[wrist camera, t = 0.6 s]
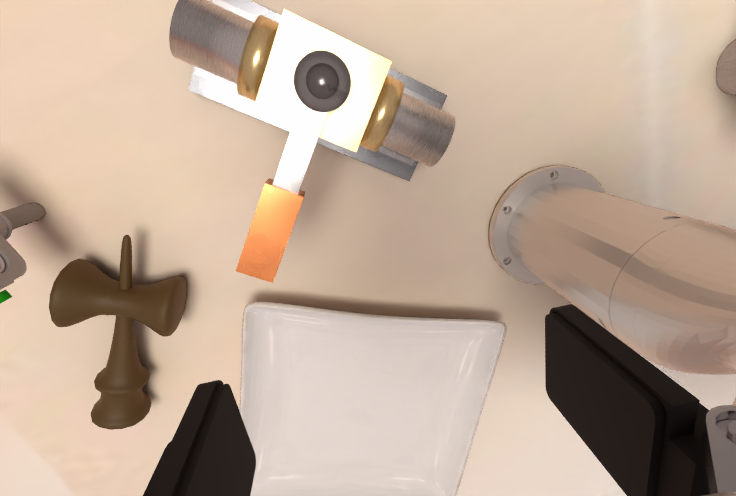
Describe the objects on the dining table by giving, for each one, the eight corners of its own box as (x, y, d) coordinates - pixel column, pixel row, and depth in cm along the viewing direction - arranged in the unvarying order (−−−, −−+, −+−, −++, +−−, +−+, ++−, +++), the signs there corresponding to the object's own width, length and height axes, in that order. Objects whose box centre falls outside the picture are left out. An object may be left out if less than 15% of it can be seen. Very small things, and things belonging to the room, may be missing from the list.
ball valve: (442, 96, 34) (494, 88, 24) (405, 178, 36) (439, 204, 26) (220, -11, 30) (164, -79, 19) (194, 90, 32) (130, 79, 21)
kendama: (86, 388, 41) (83, 214, 34) (181, 397, 43) (196, 233, 36) (50, 434, 35) (39, 236, 29) (161, 441, 37) (174, 258, 31)
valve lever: (306, 44, 22) (304, 37, 20) (357, 68, 22) (360, 64, 20) (235, 258, 26) (228, 270, 24) (281, 273, 26) (278, 286, 24)
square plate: (444, 484, 51) (454, 512, 48) (237, 481, 47) (230, 512, 44) (496, 308, 43) (513, 326, 39) (249, 286, 39) (242, 304, 35)
